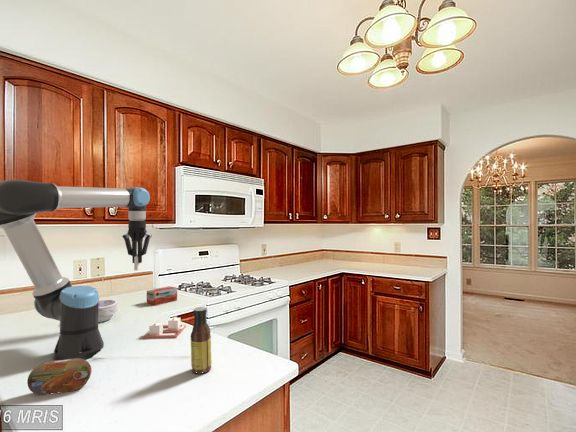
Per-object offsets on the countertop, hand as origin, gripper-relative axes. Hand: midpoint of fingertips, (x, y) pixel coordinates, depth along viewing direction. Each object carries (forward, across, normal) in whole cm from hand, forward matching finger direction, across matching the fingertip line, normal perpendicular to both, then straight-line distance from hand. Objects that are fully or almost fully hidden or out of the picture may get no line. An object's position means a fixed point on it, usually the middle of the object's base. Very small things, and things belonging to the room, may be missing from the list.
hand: (137, 269), depth 149 cm
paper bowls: (+25, +20, -4) cm, 32 cm away
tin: (+25, -5, +60) cm, 65 cm away
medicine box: (+25, +2, -36) cm, 44 cm away
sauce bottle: (+25, -42, +49) cm, 69 cm away
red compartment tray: (+25, -20, +18) cm, 36 cm away
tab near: (+23, -17, +21) cm, 36 cm away
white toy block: (+23, -22, +15) cm, 36 cm away
